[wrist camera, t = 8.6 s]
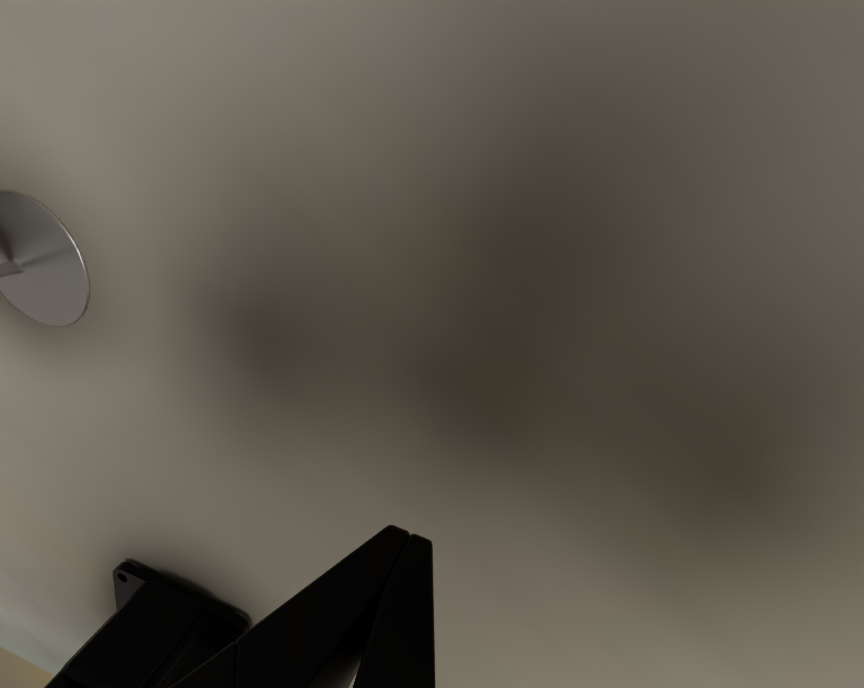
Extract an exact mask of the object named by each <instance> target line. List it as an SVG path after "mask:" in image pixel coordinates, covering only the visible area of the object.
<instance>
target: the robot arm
mask: <svg viewBox="0 0 864 688" xmlns="http://www.w3.org/2000/svg"><path fill="white" fill-rule="evenodd" d="M113 579H114V588H115V597H116V606H117V611H116V612H115V613H114V614H113V615H112V616H111V617H110V618H109V619H108V620H107V621H106V622H105V623H104V624H103V626H102V627H101V628H100V629H99V630H98V631H97V632H96V633H95V634H94V635H93V636H92V637H91V638H90V639H89V640H88V641H87V642H86V643H85V644H84V645H83V646H82V647H81V648H80V649H79V650H78V651H77V652H76V654H75V655H74V656H73V657H72V658H71V659H70V660H69V661H68V662H67V663H66V664H65V665H64V667H63V668H62V669H61V670H60V672H59V673H58V674H57V675H56V676H55V677H54V678H53V679H52V680H51V681H50V682H49V683H48V684H47V685H46V686H45V687H44V688H348V687H349V686H350V684H351V682H352V680H353V678H354V676H355V675H356V673H357V675H356V678H355V682H354V685H353V688H435V646H434V598H433V549H432V542H431V541H430V540H429V539H426V538H424V537H421V536H419V535H417V534H411V535H410V533H409V532H408V531H407V530H404V529H402V528H399V527H397V526H394V525H388V526H387V527H385V528H384V529H382V530H381V531H380V532H378V533H377V534H376V535H375V536H373V537H372V538H371V539H369V540H368V541H367V542H365V543H364V544H363V545H361V546H360V547H359V548H357V549H356V550H355V551H353V552H352V553H351V554H349V555H348V556H347V557H345V558H344V559H343V560H341V561H340V562H339V563H337V564H336V565H335V566H333V567H332V568H331V569H329V570H328V571H327V572H325V573H324V574H323V575H321V576H320V577H319V578H317V579H316V580H315V581H313V582H312V583H311V584H309V585H308V586H307V587H305V588H304V589H303V590H301V591H300V592H299V593H297V594H296V595H295V596H293V597H292V598H291V599H289V600H288V601H287V602H285V603H284V604H283V605H281V606H280V607H279V608H277V609H276V610H275V611H273V612H272V613H271V614H269V615H268V616H267V617H265V618H264V619H263V620H261V621H260V622H259V623H257V624H256V625H255V626H253V627H252V628H251V629H249V624H248V622H247V620H246V619H245V618H244V617H243V616H241V615H239V614H237V613H235V612H233V611H231V610H229V609H226V608H224V607H222V606H220V605H218V604H216V603H214V602H211V601H209V600H207V599H205V598H203V597H201V596H199V595H196V594H194V593H192V592H190V591H188V590H186V589H184V588H181V587H179V586H177V585H175V584H173V583H171V582H169V581H166V580H164V579H162V578H160V577H158V576H156V575H154V574H151V573H149V572H147V571H145V570H143V569H141V568H139V567H136V566H134V565H132V564H130V563H127V562H122V563H121V564H120V565H119V566H118V567H117V568H116V569H114V570H113ZM357 671H358V672H357Z"/></svg>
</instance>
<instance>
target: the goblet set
mask: <svg viewBox="0 0 864 688" xmlns="http://www.w3.org/2000/svg"><path fill="white" fill-rule="evenodd" d="M0 291H1V293H2V294H3V295H4V296H5V297H6V298H7V299H8V300H9V301H10V302H11V303H12V304H13V305H14V306H15V307H16V308H17V309H18V310H20V311H21V312H22V313H24V314H25V315H27V316H28V317H30V318H32V319H33V320H35V321H38V322H40V323H42V324H46V325H49V326H57V327H62V326H68V325H71V324H73V323H75V322H77V321H78V320H79V319H80V318H81V317H82V316H83V314H84V313H85V311H86V309H87V306H88V303H89V298H90V282H89V275H88V271H87V267H86V264H85V261H84V258H83V256H82V254H81V251H80V249H79V247H78V245H77V244H76V242H75V240H74V238H73V237H72V235H71V234H70V232H69V231H68V230H67V228H66V227H65V226H64V224H63V223H62V222H61V221H60V220H59V219H58V218H57V217H56V215H55V214H53V213H52V212H51V211H50V210H49V209H48V208H47V207H45V206H44V205H43V204H41V203H40V202H39V201H37V200H35V199H34V198H32V197H30V196H28V195H25V194H23V193H20V192H16V191H10V190H3V191H0Z"/></svg>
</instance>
